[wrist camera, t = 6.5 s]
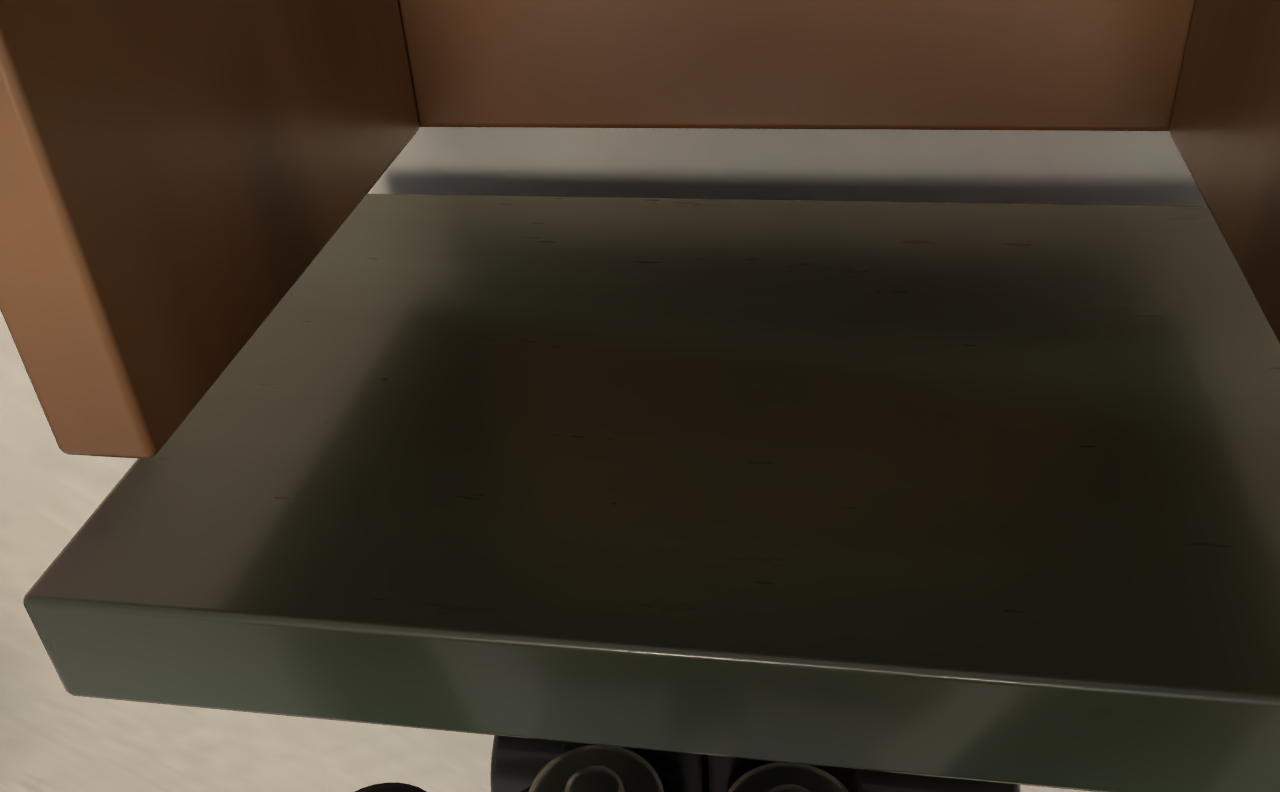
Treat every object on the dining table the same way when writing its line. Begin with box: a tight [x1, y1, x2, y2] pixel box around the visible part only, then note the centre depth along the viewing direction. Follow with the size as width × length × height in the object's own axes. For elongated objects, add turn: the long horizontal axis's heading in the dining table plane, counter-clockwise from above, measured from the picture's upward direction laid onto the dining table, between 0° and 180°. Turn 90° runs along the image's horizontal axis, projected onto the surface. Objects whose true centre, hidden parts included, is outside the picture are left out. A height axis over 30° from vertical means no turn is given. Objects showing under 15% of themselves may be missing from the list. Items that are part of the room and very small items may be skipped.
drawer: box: [0, 0, 1280, 792], centre depth 10 cm, size 18×12×8 cm, turn 3°
